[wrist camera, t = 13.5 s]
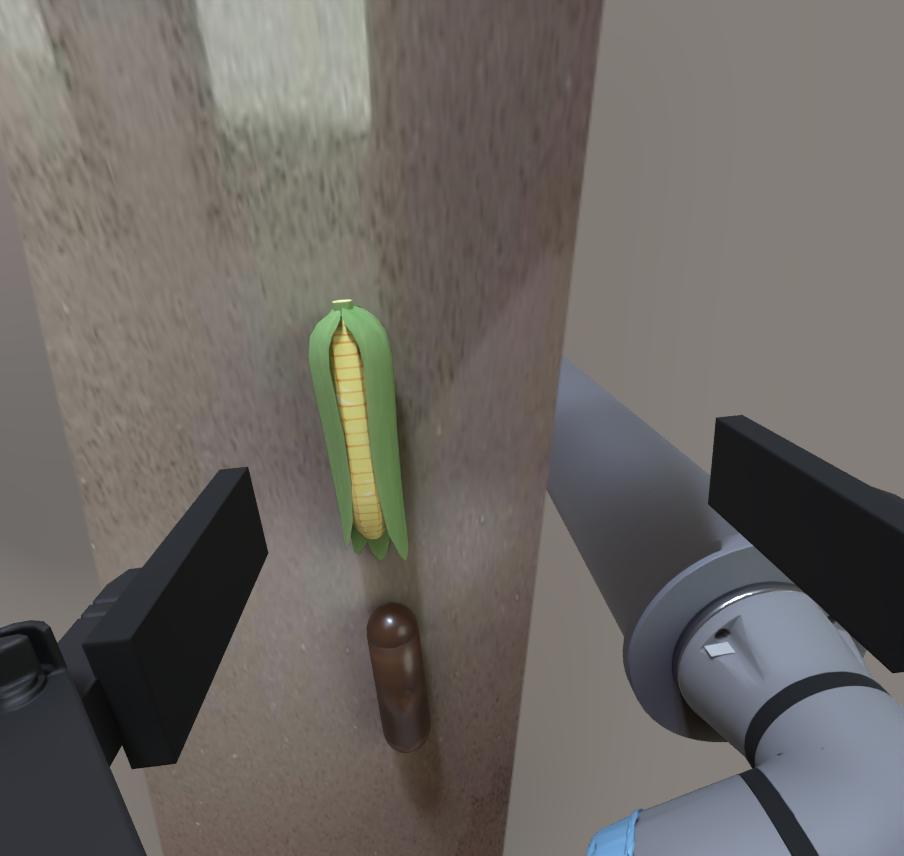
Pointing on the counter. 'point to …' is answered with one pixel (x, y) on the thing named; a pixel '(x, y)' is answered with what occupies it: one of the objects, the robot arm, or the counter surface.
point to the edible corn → (360, 426)
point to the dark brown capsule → (399, 676)
